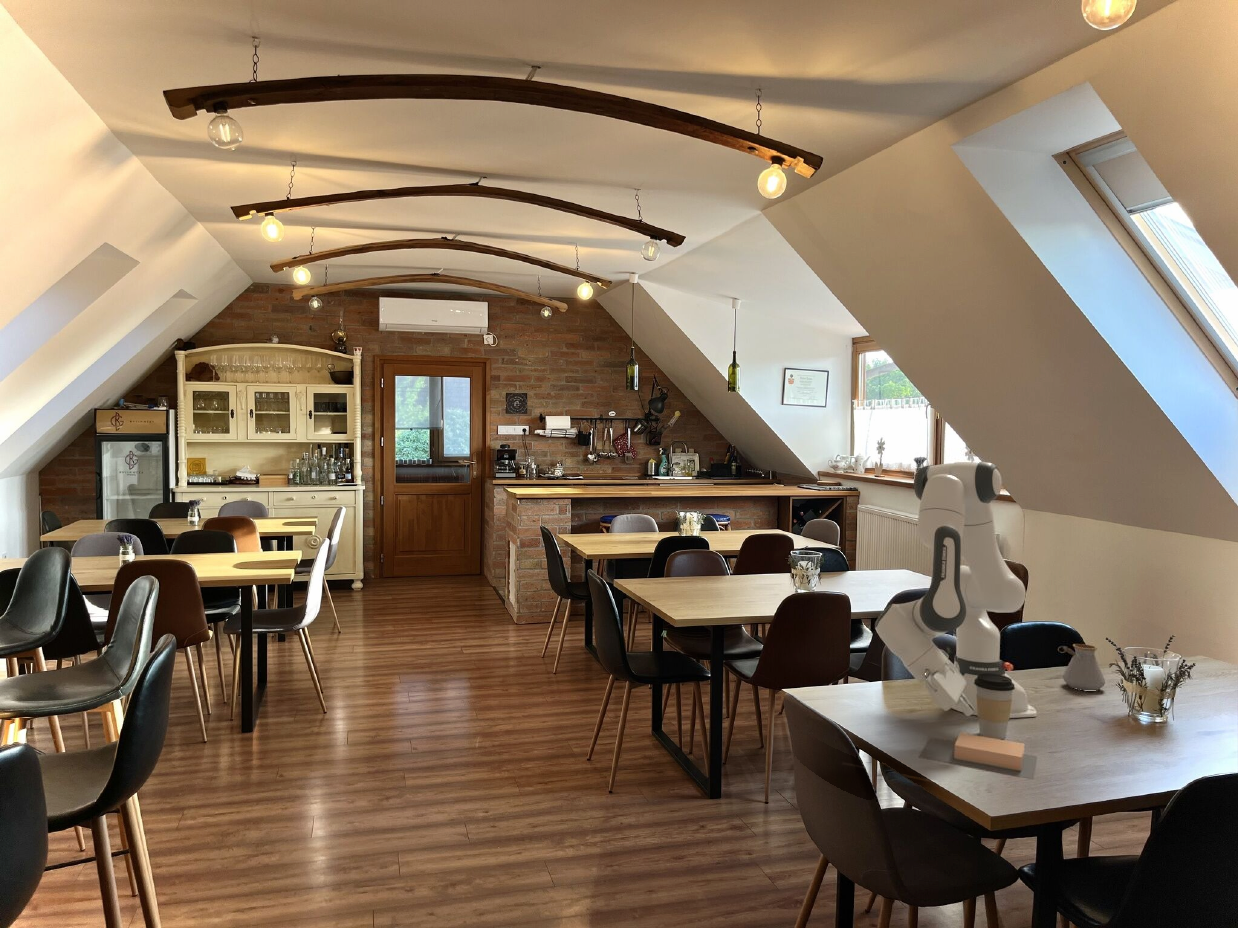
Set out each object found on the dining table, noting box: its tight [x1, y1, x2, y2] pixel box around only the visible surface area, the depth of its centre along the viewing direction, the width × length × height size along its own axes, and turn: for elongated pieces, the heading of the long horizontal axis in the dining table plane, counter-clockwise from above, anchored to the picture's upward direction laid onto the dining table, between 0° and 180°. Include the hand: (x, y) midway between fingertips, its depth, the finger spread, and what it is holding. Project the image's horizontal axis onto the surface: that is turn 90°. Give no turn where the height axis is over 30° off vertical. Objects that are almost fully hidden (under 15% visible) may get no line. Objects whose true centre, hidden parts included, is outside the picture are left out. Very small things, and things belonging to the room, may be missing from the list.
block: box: [954, 732, 1026, 771], centre depth 199 cm, size 3×10×14 cm
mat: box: [918, 736, 1038, 780], centre depth 200 cm, size 24×16×1 cm, turn 61°
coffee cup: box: [974, 673, 1015, 740], centre depth 216 cm, size 9×9×15 cm
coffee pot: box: [1057, 643, 1106, 690], centre depth 259 cm, size 21×12×15 cm, turn 128°
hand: (971, 713), depth 201 cm, fingers closed
